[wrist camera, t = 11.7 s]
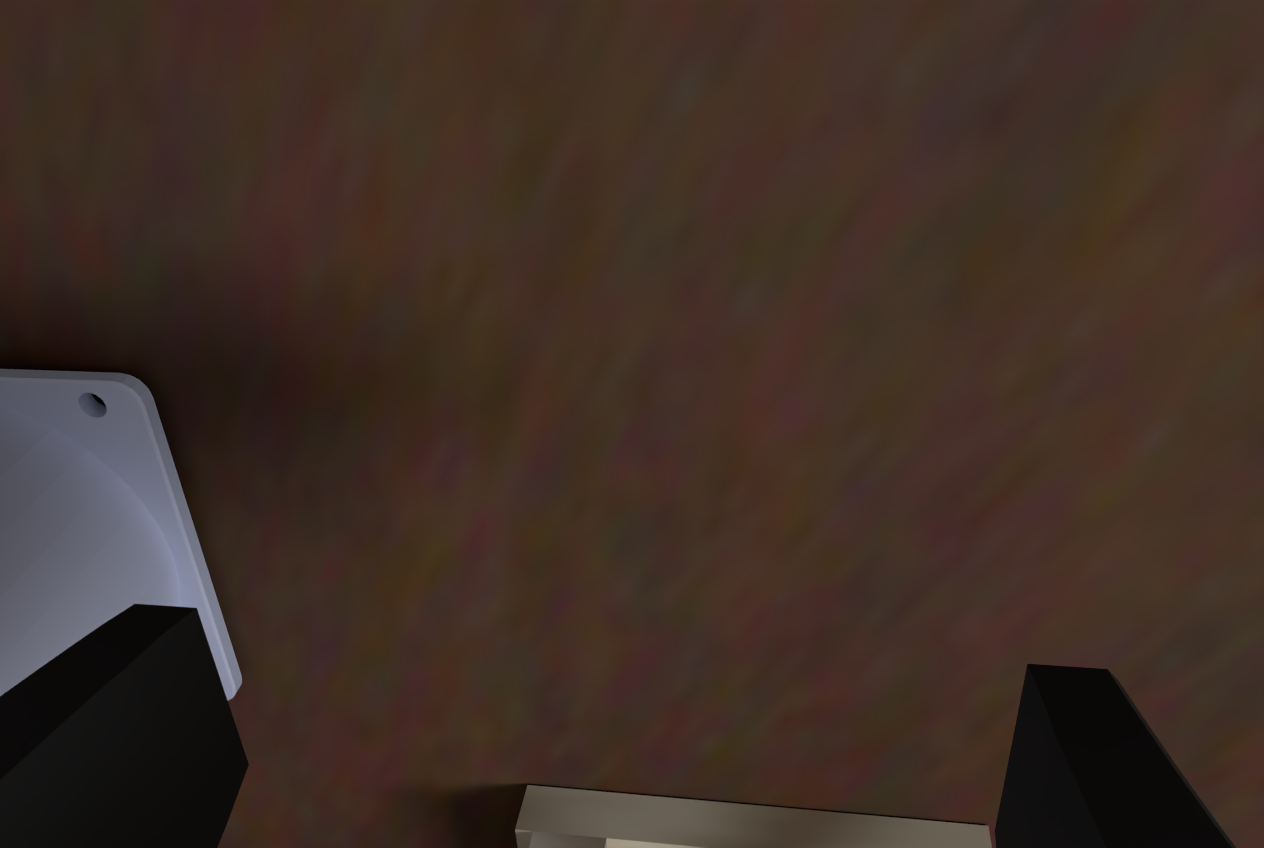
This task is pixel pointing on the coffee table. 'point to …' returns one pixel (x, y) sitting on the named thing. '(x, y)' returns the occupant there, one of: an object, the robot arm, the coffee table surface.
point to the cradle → (716, 825)
